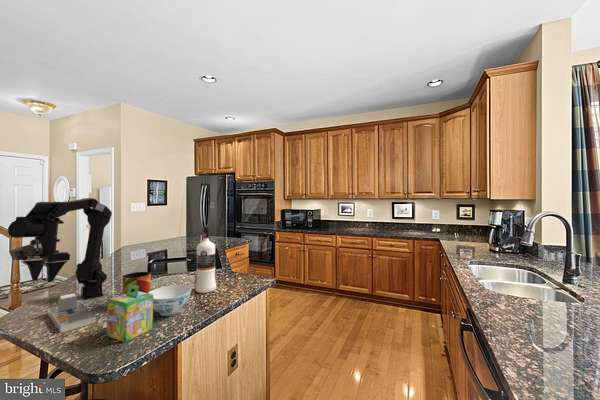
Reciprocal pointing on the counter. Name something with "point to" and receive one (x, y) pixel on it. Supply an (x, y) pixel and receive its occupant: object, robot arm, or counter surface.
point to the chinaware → (170, 299)
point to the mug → (137, 281)
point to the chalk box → (129, 314)
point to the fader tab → (67, 302)
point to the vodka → (205, 264)
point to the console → (71, 317)
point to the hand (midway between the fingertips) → (42, 281)
